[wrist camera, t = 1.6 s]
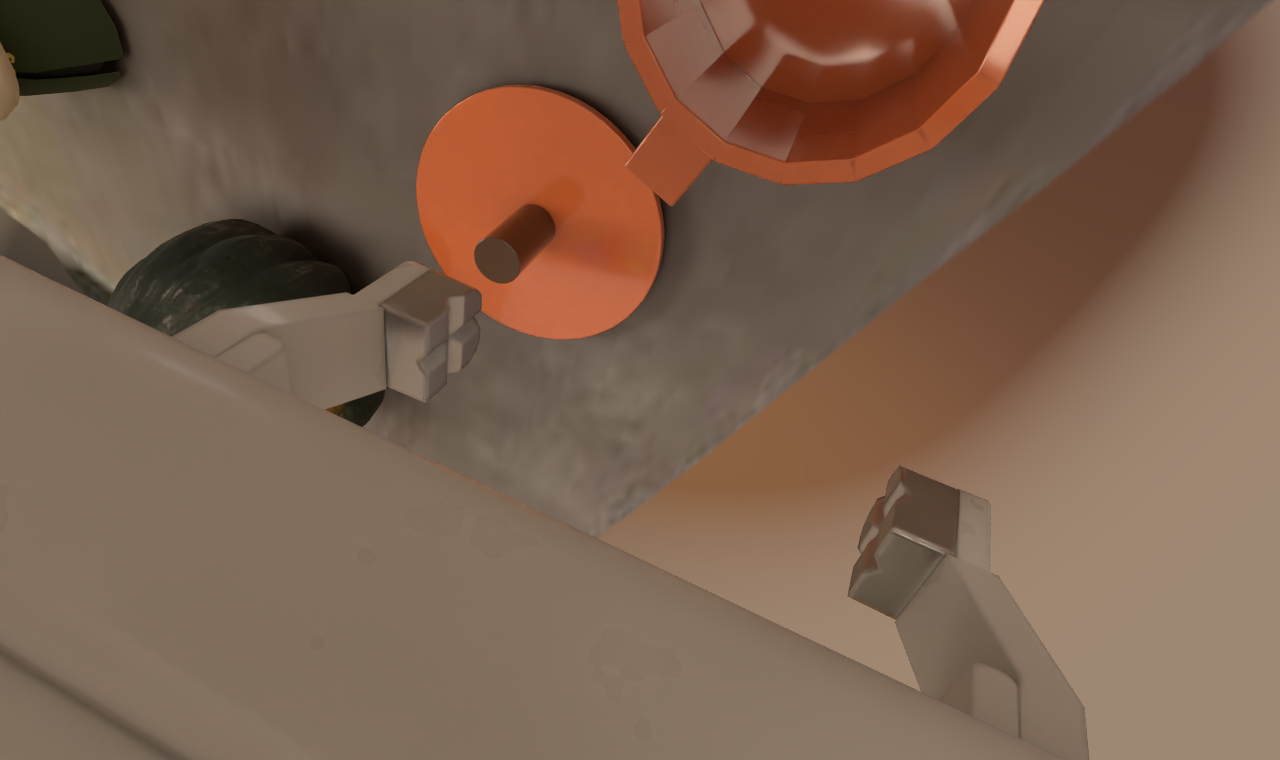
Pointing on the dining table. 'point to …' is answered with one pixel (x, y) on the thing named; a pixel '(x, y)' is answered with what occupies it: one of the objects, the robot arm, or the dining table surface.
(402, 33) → the dining table surface
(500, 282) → the lid
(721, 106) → the pot
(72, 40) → the character mug
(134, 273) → the squash
